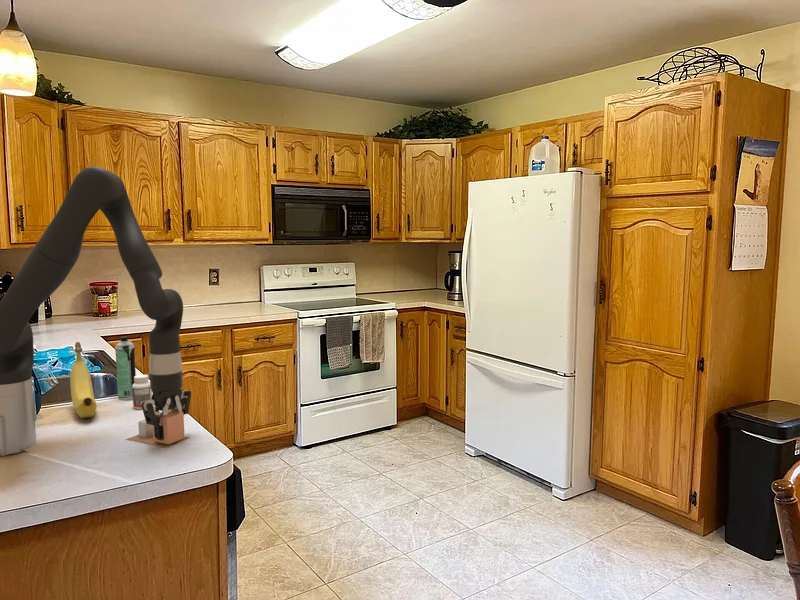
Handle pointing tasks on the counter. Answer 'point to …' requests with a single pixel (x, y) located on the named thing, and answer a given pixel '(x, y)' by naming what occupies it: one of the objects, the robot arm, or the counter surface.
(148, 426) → the stub post
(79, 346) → the banana
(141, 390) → the pill bottle
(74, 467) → the counter surface
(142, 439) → the walnut board
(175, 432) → the salmon pink cube
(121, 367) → the spray can
